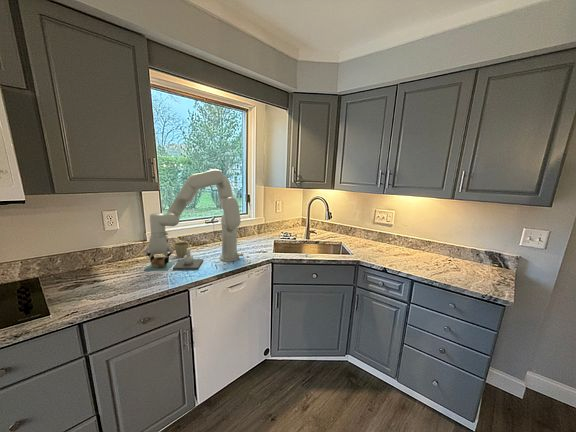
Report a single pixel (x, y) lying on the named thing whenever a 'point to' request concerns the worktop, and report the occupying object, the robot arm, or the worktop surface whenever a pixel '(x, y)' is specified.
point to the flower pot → (181, 249)
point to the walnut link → (158, 262)
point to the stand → (188, 262)
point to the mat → (160, 267)
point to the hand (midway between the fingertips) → (159, 263)
